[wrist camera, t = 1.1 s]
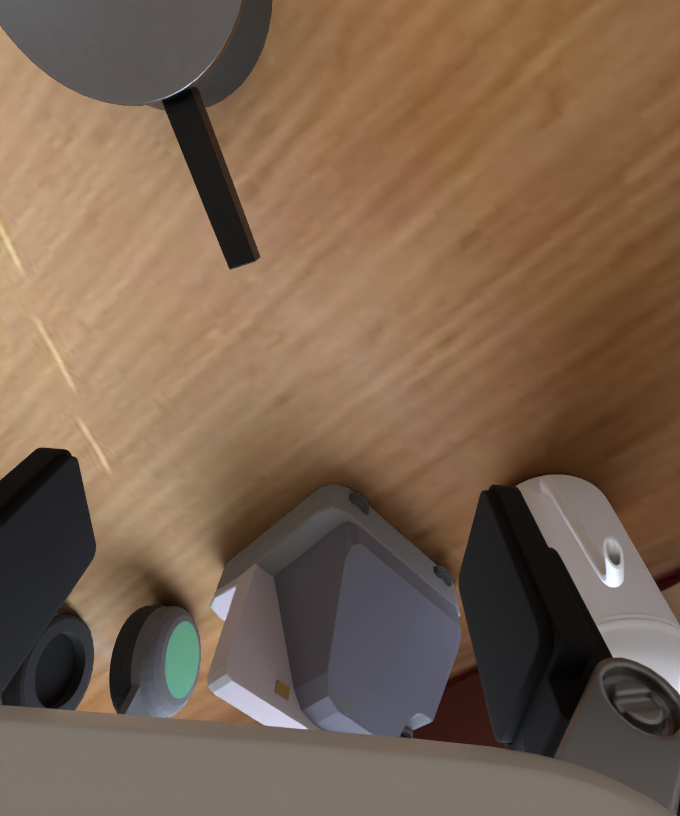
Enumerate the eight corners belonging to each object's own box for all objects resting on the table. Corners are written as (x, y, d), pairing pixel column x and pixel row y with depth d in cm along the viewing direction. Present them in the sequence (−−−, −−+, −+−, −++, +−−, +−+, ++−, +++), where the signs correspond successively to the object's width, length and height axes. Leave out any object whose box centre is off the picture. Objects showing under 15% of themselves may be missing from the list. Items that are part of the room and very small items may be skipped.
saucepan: (223, -236, 24) (151, -438, 16) (351, 221, 34) (345, 237, 26) (3, -117, 27) (-155, -239, 19) (180, 277, 36) (126, 307, 28)
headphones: (183, 579, 51) (84, 797, 33) (215, 645, 56) (143, 867, 38) (30, 596, 54) (-138, 807, 36) (73, 658, 59) (-57, 870, 41)
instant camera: (202, 552, 49) (139, 694, 36) (366, 461, 43) (364, 593, 30) (321, 664, 56) (306, 817, 43) (476, 600, 50) (515, 757, 37)
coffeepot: (587, 381, 38) (757, 546, 21) (618, 591, 48) (749, 814, 32) (455, 418, 40) (516, 594, 24) (511, 612, 51) (581, 830, 34)
